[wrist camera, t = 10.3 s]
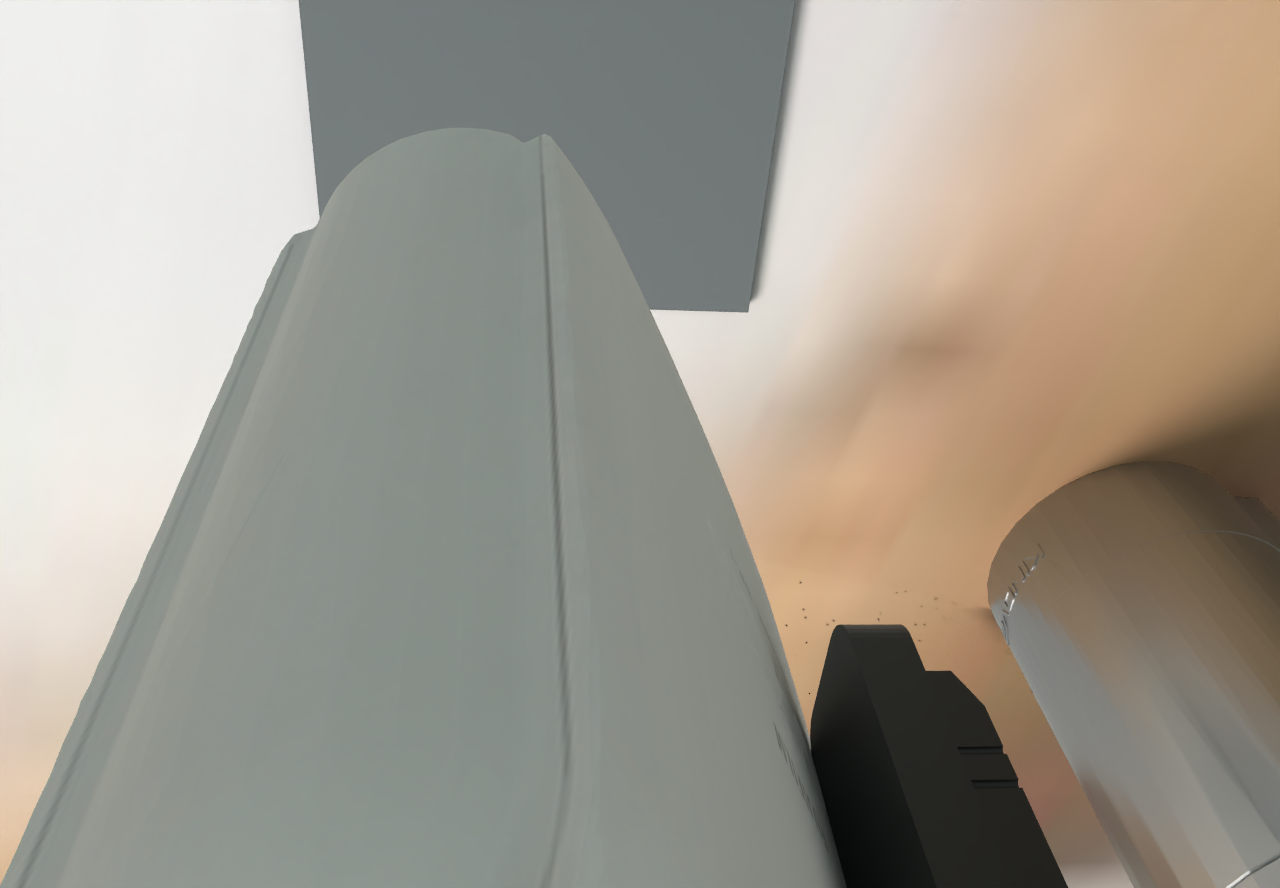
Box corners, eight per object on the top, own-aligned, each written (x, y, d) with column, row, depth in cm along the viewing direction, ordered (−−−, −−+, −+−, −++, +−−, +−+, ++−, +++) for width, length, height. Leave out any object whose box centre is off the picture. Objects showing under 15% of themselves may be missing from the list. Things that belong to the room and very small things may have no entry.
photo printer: (797, 633, 18) (1139, 1789, 8) (566, 708, 19) (611, 1879, 9) (567, 61, 13) (735, 1535, 2) (246, 192, 13) (-763, 1853, 3)
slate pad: (800, -63, 26) (804, -61, 25) (745, 306, 31) (748, 312, 31) (292, -101, 24) (289, -99, 24) (329, 293, 30) (327, 299, 30)
